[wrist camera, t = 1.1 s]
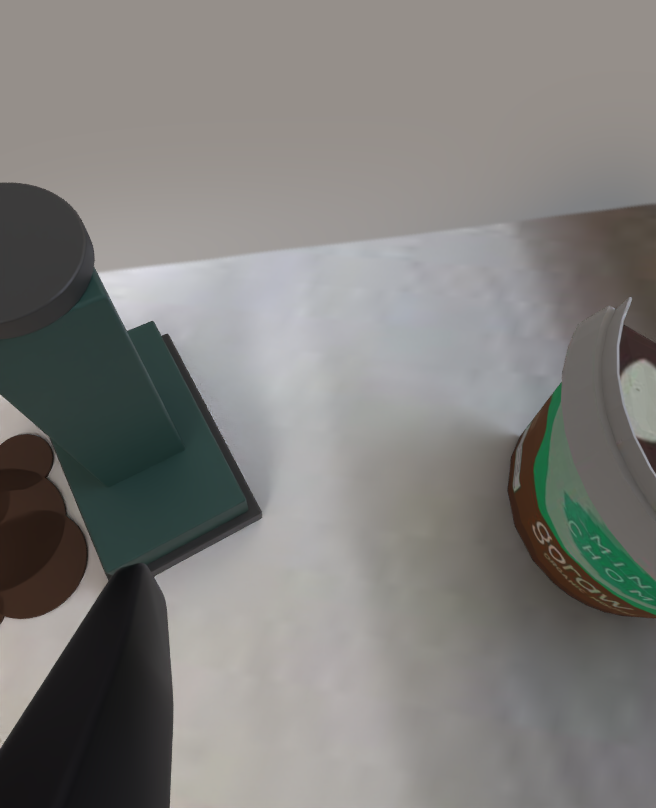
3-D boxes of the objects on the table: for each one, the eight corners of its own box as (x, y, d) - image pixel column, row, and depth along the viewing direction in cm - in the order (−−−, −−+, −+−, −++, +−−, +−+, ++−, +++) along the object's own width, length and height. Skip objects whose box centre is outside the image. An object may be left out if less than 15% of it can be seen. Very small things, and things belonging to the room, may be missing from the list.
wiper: (263, 517, 22) (239, 369, 10) (120, 594, 21) (-113, 530, 9) (171, 343, 25) (65, 60, 13) (39, 400, 24) (-225, 140, 11)
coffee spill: (105, 582, 21) (104, 581, 21) (-45, 661, 20) (-46, 661, 20) (41, 425, 23) (40, 424, 23) (-98, 487, 22) (-99, 486, 22)
